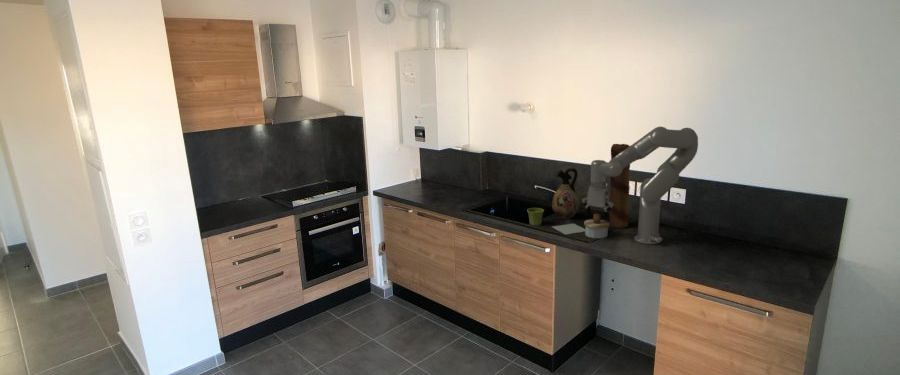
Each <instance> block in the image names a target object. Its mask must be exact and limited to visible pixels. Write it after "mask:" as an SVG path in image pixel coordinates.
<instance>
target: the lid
mask: <svg viewBox="0 0 900 375" xmlns="http://www.w3.org/2000/svg"><path fill="white" fill-rule="evenodd" d="M601 218H602V214H600V213H594V214H593V216H592V218H591V219H586V220H584V222H583V223H584V224H583V225H584V227H585V226H586V227H589V228H593V229H604V228H609V227H610V221H607V220H606V219H604V220H603V219H601Z"/></svg>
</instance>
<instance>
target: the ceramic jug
mask: <svg viewBox="0 0 900 375" xmlns="http://www.w3.org/2000/svg"><path fill="white" fill-rule="evenodd" d="M569 172H572V173H574V175H573V178H572V176H571V175H570V174H569ZM554 176H555V177H557V178H560V179H561V180H562V182H561V185H559V187H558V188H557V190H556V192H555V193H554V194H553V197H552V202H551V207H552V211H553V212H554V214H555V215H556V218H560V219H572V218H574V217H575V215H576V213H578V211H579V208H580V202H579V197H578V195H577V193H576V188H575V183H576V181H577V178H578V170H577V169H576V168H574V167H568V168H566V170H565V171H564V170H562V169H560V170H558V171H557V172H556V174H555V175H554ZM571 179H572V181H571V183H570V181H569V180H571Z"/></svg>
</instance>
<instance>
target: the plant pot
mask: <svg viewBox="0 0 900 375" xmlns="http://www.w3.org/2000/svg"><path fill="white" fill-rule="evenodd" d="M526 210H527V213H528V219H529V225H532V226H540V225H542V221H543V214H544V211H545V209H543V208H540V207H530V208H527V209H526Z"/></svg>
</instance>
